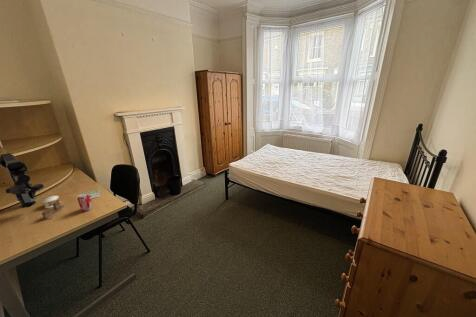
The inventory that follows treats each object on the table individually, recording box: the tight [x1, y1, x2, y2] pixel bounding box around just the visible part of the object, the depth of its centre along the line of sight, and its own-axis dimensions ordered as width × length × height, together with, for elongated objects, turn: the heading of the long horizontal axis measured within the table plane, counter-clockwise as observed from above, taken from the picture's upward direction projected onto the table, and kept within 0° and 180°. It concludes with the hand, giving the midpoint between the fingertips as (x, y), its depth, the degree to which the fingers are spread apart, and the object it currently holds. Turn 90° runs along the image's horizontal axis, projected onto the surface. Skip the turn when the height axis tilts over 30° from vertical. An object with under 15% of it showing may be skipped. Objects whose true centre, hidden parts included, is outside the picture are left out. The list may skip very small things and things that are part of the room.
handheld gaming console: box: [85, 189, 101, 200], centre depth 161 cm, size 10×2×15 cm
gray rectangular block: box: [21, 191, 37, 203], centre depth 136 cm, size 4×4×7 cm
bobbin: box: [42, 195, 62, 209], centre depth 147 cm, size 9×9×6 cm
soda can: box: [77, 192, 94, 212], centre depth 140 cm, size 7×7×12 cm
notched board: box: [40, 199, 66, 221], centre depth 138 cm, size 6×16×6 cm, turn 13°
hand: (29, 198), depth 137 cm, fingers closed on gray rectangular block, 4 cm apart
